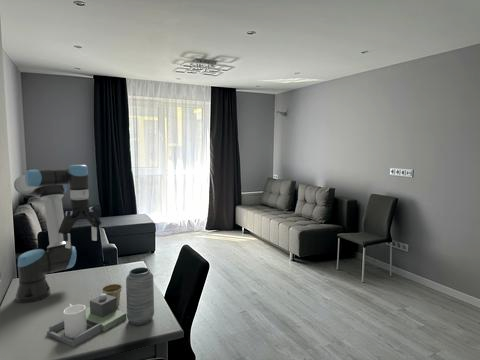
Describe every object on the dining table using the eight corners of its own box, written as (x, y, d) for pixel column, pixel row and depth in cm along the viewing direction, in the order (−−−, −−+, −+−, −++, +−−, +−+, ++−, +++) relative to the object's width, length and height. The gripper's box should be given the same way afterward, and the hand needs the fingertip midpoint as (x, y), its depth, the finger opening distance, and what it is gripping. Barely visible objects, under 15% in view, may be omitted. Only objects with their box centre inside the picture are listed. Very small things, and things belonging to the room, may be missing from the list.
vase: (128, 329, 138) (126, 277, 136) (126, 316, 148) (124, 268, 146) (156, 323, 142) (155, 273, 140) (152, 311, 153) (151, 264, 151)
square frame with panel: (44, 333, 134) (43, 309, 133) (96, 308, 156) (95, 287, 155) (75, 347, 125) (74, 322, 124) (126, 318, 147) (125, 296, 146)
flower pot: (115, 310, 154) (115, 293, 153) (98, 308, 156) (97, 291, 155) (126, 301, 163) (125, 284, 163) (109, 299, 165) (109, 283, 164)
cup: (79, 321, 144) (78, 299, 143) (89, 332, 136) (88, 309, 135) (59, 328, 139) (58, 305, 138) (68, 340, 130) (67, 316, 129)
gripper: (58, 203, 135) (61, 252, 137) (108, 195, 157) (109, 238, 159) (47, 201, 139) (50, 250, 141) (97, 194, 160) (99, 236, 162)
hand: (81, 244), depth 150 cm, fingers open, 13 cm apart
